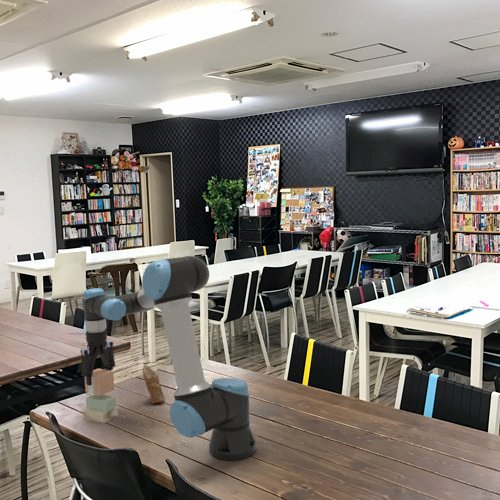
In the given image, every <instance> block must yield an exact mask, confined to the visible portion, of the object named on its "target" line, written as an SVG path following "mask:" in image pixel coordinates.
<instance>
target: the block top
mask: <svg viewBox="0 0 500 500" xmlns="http://www.w3.org/2000/svg"><path fill="white" fill-rule="evenodd" d="M85 401H86V405H85V407H86V408H90V409H95V410H99V411H104V412H108V411H110V410H112V409H113V408H115V407H116V406H117V405H116V402H117V401H116V397H115V396H112V395H106V394H103V395H100V396H99V395H96V394H90V395H88V396H86V397H85Z"/></svg>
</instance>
